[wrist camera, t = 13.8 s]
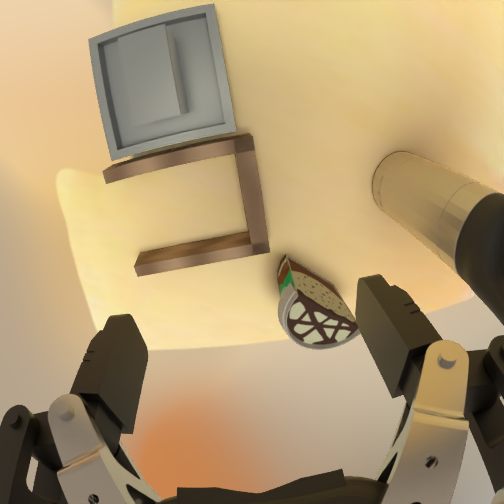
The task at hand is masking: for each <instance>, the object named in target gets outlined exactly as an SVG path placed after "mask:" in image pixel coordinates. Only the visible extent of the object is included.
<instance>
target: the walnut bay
mask: <svg viewBox="0 0 504 504" xmlns="http://www.w3.org/2000/svg"><path fill="white" fill-rule="evenodd" d="M230 154H235V157H236V163H237V168H238V174H239V180H240V186H241V191H242V197H243V203H244V208H245V214H246V220H247V225H248V231H249V232H244V233H239V234H234V235H228V236H223V237H218V238H213V239H207V240H202V241H197V242H192V243H187V244H182V245H177V246H171V247H166V248H161V249H156V250H152V251H147V252H142V253H140V254H139V256H138V258H137V261H136V263H135V265H134V268H135V271H136V273H137V276H138V277H139V276H144V275H150V274H155V273H161V272H166V271H172V270H177V269H182V268H188V267H193V266H199V265H204V264H210V263H215V262H220V261H226V260H231V259H237V258H242V257H247V256H253V255H258V254H263V253H269V252H270V248H269V241H268V234H267V227H266V220H265V213H264V207H263V200H262V193H261V187H260V180H259V174H258V167H257V161H256V155H255V148H254V142H253V136H252V135H251V134H250V133H248V134H242V135H236V136H230V137H225V138H220V139H214V140H209V141H204V142H200V143H195V144H190V145H186V146H181V147H177V148H173V149H169V150H164V151H160V152H156V153H153V154H149V155H145V156H141V157H138V158H134V159H130V160H127V161H124V162H120V163H117V164H113V165H112V166H110V167H108V168H107V169H105V170H104V171H103V175H104V178H105V182H106V184H108V183H111V182H115V181H118V180H122V179H125V178H129V177H133V176H136V175H140V174H144V173H148V172H152V171H156V170H160V169H164V168H168V167H172V166H177V165H181V164H186V163H190V162H195V161H200V160H204V159H209V158H214V157H220V156H225V155H230Z"/></svg>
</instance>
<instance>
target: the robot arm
mask: <svg viewBox="0 0 504 504" xmlns="http://www.w3.org/2000/svg"><path fill="white" fill-rule="evenodd" d="M372 189H373V196H374V199H375V202H376V203H377V205H378V207H379V208H380V209H381V210H382V211H384V212H385V213H386V214H387V215H389V216H390V217H391V218H393V219H394V220H395V221H396V222H397V223H399V224H400V225H401V226H402V227H404V228H405V229H406V230H407V231H409V232H410V233H411V234H412V235H413V236H415V237H416V238H417V239H418V240H419V241H421V242H422V243H423V244H424V245H425V246H426V247H428V248H429V249H430V250H431V251H432V252H433V253H434V254H436V255H437V256H438V257H439V258H440V259H441V260H442V261H443V262H445V263H446V264H447V265H448V266H449V267H450V268H451V269H452V270H453V271H455V272H456V273H457V274H458V275H459V276H460V277H461V278H462V279H463V280H464V281H465V282H466V283H467V284H468V285H469V286H470V287H471V289H472V290H473V291H474V292H475V294H476V295H477V296H478V297H479V298H480V299H481V300H482V301H483V302H484V303H485V304H486V305H487V306H488V307H489V309H490V310H491V311H492V312H493V313H494V314H495V316H496V317H497V318H498V319H499V320H500V322H501V323H502V324H503V325H504V194H501V193H499V192H497V191H496V190H494V189H492V188H490V187H488V186H486V185H484V184H481V183H479V182H477V181H475V180H473V179H471V178H469V177H467V176H464V175H462V174H460V173H458V172H456V171H453V170H451V169H449V168H446V167H444V166H442V165H439V164H437V163H434V162H432V161H429V160H427V159H425V158H422V157H420V156H417V155H414V154H412V153H408V152H396V153H393V154H391V155H389V156H387V157H386V158H385V159H384V160H383V161H382V162H381V163H380V165H379V166H378V168H377V170H376V172H375V175H374V179H373V186H372ZM355 315H356V322H357V326H358V329H359V331H360V333H361V335H362V337H363V338H364V341H365V343H366V345H367V347H368V349H369V351H370V353H371V355H372V357H373V359H374V360H375V363H376V365H377V367H378V369H379V371H380V373H381V375H382V377H383V379H384V381H385V383H386V386H387V388H388V390H389V392H390V394H391V396H392V398H395V397H398V396H401V395H404V397H405V399H406V403H405V405H404V409H403V412H402V415H401V418H400V421H399V424H398V427H397V430H396V433H395V436H394V438H393V441H392V444H391V447H390V449H389V452H388V454H387V456H386V458H385V460H384V462H383V464H382V466H381V468H380V470H379V472H378V474H377V477H376V479H375V480H373V479H369V478H364V477H354V476H344V474H343V470H342V469H339V470H336V471H332V472H327V473H323V474H318V475H314V476H309V477H304V478H300V479H298V480H295V481H293V482H290V483H288V484H285V485H283V486H280V487H277V488H275V489H272V490H269V491H266V492H263V493H248V492H240V491H233V490H228V489H222V488H216V487H212V488H179V487H178V488H177V496H174V497H171V498H167V499H164V500H163V499H162V498H161V497H160V496H159V495H158V494H157V493H156V492H155V491H154V490H153V489H152V488H151V487H150V486H149V484H148V483H147V482H146V481H145V479H144V478H143V476H142V475H141V473H140V472H139V470H138V469H137V467H136V466H135V464H134V462H133V461H132V459H131V458H130V456H129V454H128V453H127V451H126V449H125V448H124V446H123V444H122V443H121V442H120V435H121V433H123V434H133V430H134V424H135V419H136V414H137V409H138V404H139V398H140V394H141V389H142V384H143V380H144V375H145V371H146V366H147V362H148V350H147V346H146V344H145V342H144V340H143V338H142V336H141V334H140V331H139V329H138V327H137V325H136V323H135V321H134V319H133V317H132V316H131V315H130V314H122V315H113V316H110V317H109V318H108V320H107V322H106V324H105V327H104V329H103V330H100V331H99V332H98V333H97V334H96V336H95V337H94V338H93V339H92V340H91V342H90V344H89V347H88V349H87V353H86V354H85V356H84V358H83V362H82V363H81V365H80V368H79V370H78V373H77V375H76V378H75V381H74V383H73V386H72V388H71V391H70V393H69V394H66V395H62V396H60V397H59V398H57V399H56V400H55V401H54V402H53V403H52V404H51V406H50V408H49V411H46V412H42V413H37V414H32V413H31V412H30V411H29V410H28V409H27V408H26V407H25V406H23V405H16V406H14V407H12V408H10V409H9V410H8V411H7V413H6V414H5V416H4V418H3V420H2V423H1V426H0V504H450V503H451V499H452V496H453V493H454V489H455V486H456V483H457V479H458V476H459V472H460V468H461V464H462V460H463V454H464V450H465V446H466V440H467V435H468V429H469V428H470V430H471V433H472V435H473V437H474V439H475V442H476V444H477V446H478V449H479V451H480V454H481V456H482V459H483V461H484V464H485V466H486V469H487V471H488V474H489V477H490V480H491V482H492V485H493V488H494V491H495V496H494V498H493V500H492V503H491V504H504V405H503V404H502V402H501V400H500V396H502V397H503V399H504V335H501V336H497V337H495V338H494V339H493V340H492V341H491V343H490V345H489V347H488V349H485V350H475V351H465V349H464V348H463V347H462V346H461V345H460V344H458V343H456V342H454V341H450V340H443V339H442V338H441V336H440V335H439V334H438V332H437V331H436V330H435V328H434V327H433V325H432V324H431V323H430V321H429V320H428V319H427V318H426V316H425V315H424V314H423V312H421V311H420V308H419V307H418V306H417V304H415V303H414V301H413V299H412V298H411V297H410V296H409V294H408V293H407V292H406V291H404V290H402V289H401V288H399V287H397V286H396V285H394V286H389V284H388V283H387V282H386V280H385V279H384V278H383V277H382V275H380V274H377V275H372V276H368V277H363V278H359V280H358V286H357V300H356V312H355ZM463 415H464V417H465V418H464V417H463ZM31 456H32V457H33V458H35V459H36V460H37V461H38V467H37V471H36V476H35V481H34V486H33V491H32V492H31V491H30V490H29V489H28V487H27V484H26V477H27V473H28V468H29V464H30V460H31Z"/></svg>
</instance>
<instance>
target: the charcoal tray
mask: <svg viewBox="0 0 504 504" xmlns="http://www.w3.org/2000/svg"><path fill="white" fill-rule="evenodd" d="M163 24H165V25H166V27H167V28H168V30H169V31H170V32H171V34H172V35H173V37H174V38H175V40H176V45H177V51H178V57H179V63H180V68H181V74H182V79H183V85H184V90H185V96H186V101H187V106H188V111H189V113H186V114H182V115H177V116H173V117H169V118H165V119H161V120H158V121H154V122H150V123H146V124H143V125H139V126H136V127H134V126H133V122H132V117H131V112H130V108H129V103H128V98H127V92H126V87H125V82H124V76H123V70H122V64H121V58H120V52H119V45H118V38H120V37H123V36H126V35H129V34H132V33H135V32H138V31H142V30H145V29H148V28H152V27H155V26H159V25H163ZM89 48H90V56H91V63H92V69H93V75H94V81H95V87H96V92H97V98H98V103H99V108H100V113H101V118H102V122H103V127H104V131H105V136H106V140H107V144H108V148H109V152H110V156H111V160H112V161H114V160H117V159H120V158H123V157H127V156H131V155H134V154H138V153H141V152H145V151H149V150H153V149H156V148H160V147H164V146H168V145H173V144H177V143H181V142H185V141H190V140H195V139H199V138H204V137H209V136H214V135H219V134H225V133H230V132H236V126H235V120H234V115H233V109H232V103H231V97H230V92H229V86H228V80H227V74H226V69H225V63H224V57H223V52H222V46H221V40H220V35H219V29H218V23H217V18H216V12H215V6H214V4H208V5H202V6H197V7H192V8H187V9H182V10H178V11H174V12H170V13H166V14H162V15H158V16H154V17H151V18H147V19H144V20H140V21H137V22H134V23H131V24H128V25H125V26H122V27H119V28H116V29H114V30H111V31H108V32H106V33H103V34H101V35H98V36H96V37H93V38H91V39H89Z"/></svg>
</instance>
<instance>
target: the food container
mask: <svg viewBox="0 0 504 504" xmlns="http://www.w3.org/2000/svg"><path fill="white" fill-rule="evenodd" d="M278 285H279V291H280V297H281V298H280V301H279V306H278V317H279V321H280V324H281V326H282V327H283V329H284V331H285V332H286V334H287V335H288V336H289V337H290V338H291V339H292V340H293V341H294V342H296V343H297V344H299V345H300V346H302V347H305V348H309V349H316V350H322V349H330V348H334V347H338V346H340V345H343V344H345V343H347V342H349V341H351V340H352V339H354V338H355V337H357V336H358V335H359V334H360V331H359V329H358V326H357V322H356V319H355V318H354V316H353V315H352V313H351V311H350V310H349V308H348V307H347V305H346V303H345V302H344V300H343V299H342V297H341V296H340V294H339V292H338V291H337V289H336V288H335V286H334V285H333V284H332V283H330V282H329V281H327V280H326V279H324V278H322V277H321V276H319V275H318V274H316V273H315V272H313V271H311V270H310V269H308V268H307V267H305V266H304V265H302V264H300V263H299V262H297V261H296V260H294V259H292V258H291V257H289V256H288V255H285V256H284V258H283V259H282V260H281V263H280V266H279V268H278Z"/></svg>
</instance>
